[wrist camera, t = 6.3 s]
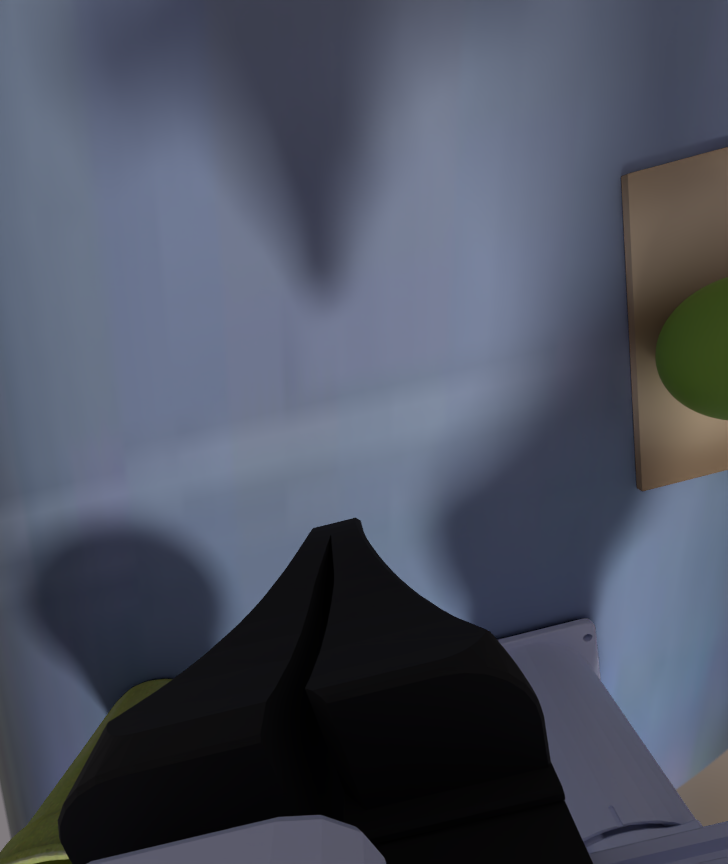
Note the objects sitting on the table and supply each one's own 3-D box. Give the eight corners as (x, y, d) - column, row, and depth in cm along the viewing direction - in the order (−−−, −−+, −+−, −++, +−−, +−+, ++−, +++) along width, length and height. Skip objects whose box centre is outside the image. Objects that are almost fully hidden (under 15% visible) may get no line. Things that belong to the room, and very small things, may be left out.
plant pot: (57, 664, 22) (-108, 882, 14) (236, 639, 22) (178, 839, 14) (111, 786, 25) (0, 1027, 17) (269, 763, 25) (237, 989, 17)
